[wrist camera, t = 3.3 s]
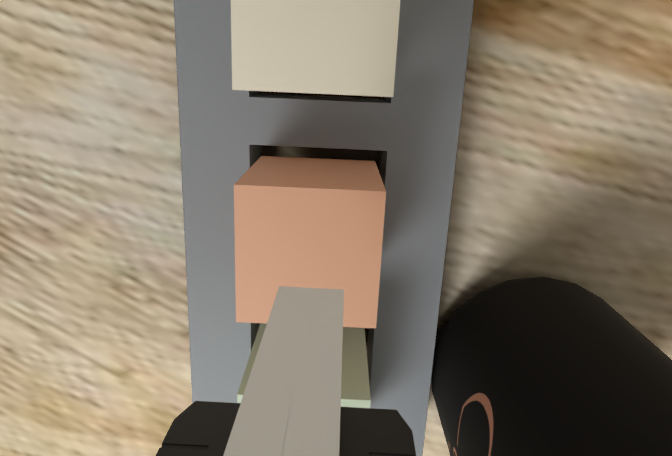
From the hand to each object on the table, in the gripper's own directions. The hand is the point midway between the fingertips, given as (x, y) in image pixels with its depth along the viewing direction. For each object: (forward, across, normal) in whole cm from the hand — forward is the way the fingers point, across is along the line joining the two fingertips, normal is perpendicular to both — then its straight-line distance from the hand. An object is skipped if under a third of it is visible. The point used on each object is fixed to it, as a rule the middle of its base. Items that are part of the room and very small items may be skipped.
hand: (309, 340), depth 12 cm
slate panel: (+15, -1, 0) cm, 15 cm away
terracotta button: (+12, -1, 0) cm, 12 cm away
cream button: (+12, -1, +8) cm, 14 cm away
